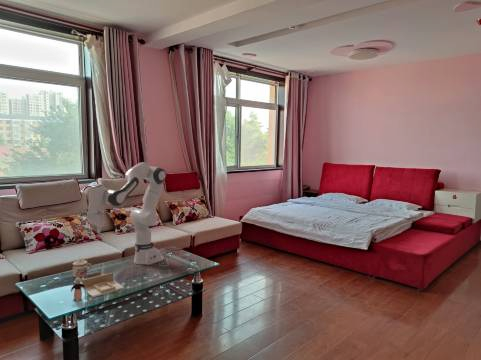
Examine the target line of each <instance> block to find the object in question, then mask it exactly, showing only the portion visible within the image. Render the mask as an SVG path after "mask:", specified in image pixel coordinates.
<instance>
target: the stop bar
mask: <svg viewBox="0 0 481 360" xmlns="http://www.w3.org/2000/svg"><path fill="white" fill-rule="evenodd" d="M101 274H102V272H101V271H100V270H94V271H88V272H87V273H85V276H84V277H85V278H84V279H87V278H91V277H95V276H99V275H101Z"/></svg>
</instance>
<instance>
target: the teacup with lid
mask: <svg viewBox="0 0 481 360" xmlns="http://www.w3.org/2000/svg"><path fill="white" fill-rule="evenodd" d="M88 266H89V267H90V268H89V269H88ZM92 268H93V265H92V263H88V261H87V260H84V259H82V258H78V260H76V261H74V262H73V263H72V277H74V278H78V277H79V278H83V277H85V273H88V272H91V270H92Z"/></svg>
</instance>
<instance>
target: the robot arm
mask: <svg viewBox="0 0 481 360" xmlns="http://www.w3.org/2000/svg"><path fill="white" fill-rule="evenodd" d="M166 177H167V173H166V171H165V169H164V168H162V167H158V166H155V165H154V166H151V165H150V166H149V164H148V163H146V162H144V161H142V162H139V163H137V164H136V165H133V166H132V167H131V168H129V169H128V170H127V171H126V172H125V175H124V179H125V182H126V183H125V184H124V185H123V186H122V188H120V189H116V190H114V189H110V188H108V187H105V186H104V185H103V184H94V185H91V186H90V187H89V190H88V203H89V204H88V207H86V208H85V212H86V221H87V223H89V225H90V231H95V227H97V228H96V233H97V234H100V233H101V230H102V228H104V227H105V226H106V220H105V218H106V217H105V214H104V205H106V204H107V205H110V206H114V207H119V206H122V205H123V204H124V203H125V201H126V199H127V198H128V196H129V195H130V194H131V193H133V192H134V190H135V189H136V188H137V186H138V185H139V183H140V182H142V180H144V181H145V180H146V181H148V182H149V184H148V185H147V188H146V190H145V192H144V195H143V198H142V203H143V204H142V205H143V206H142V208H135V209H132V211H131V212H130V213H129V218H130V220H131V222H132V224H133V227H134V232H135V244H134V251H135V253H134V260H133V263H134V264H136V265H153V264H155V263H159V262H162V261H165V257H164V256H162V254H161V251H160V250H159V249H158V248H156V245H157V243H155V242H153V241H152V231H151V230H150V228H149V227H153V226H155V224H156V223H157V222H158V216H157V205H158V203H159V200H160V198H161V195H162V193H163V192H162V191H163V189H164V188H163V187H164V182H165V180H166ZM154 246H155V247H154Z"/></svg>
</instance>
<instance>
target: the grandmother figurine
mask: <svg viewBox="0 0 481 360" xmlns="http://www.w3.org/2000/svg"><path fill="white" fill-rule="evenodd" d="M81 279H82V277H75V279H74V281H75V282H76V283H75V282H74V283H75V284H73V286H71V288H70V293H71V292H73V291H74V293H73V299H72V302H76V301H82V300H83V299H82V298H83V297H82V295H83V291H82V290H84V289H86V288H85V285H83V284H81V283H80V282H81ZM81 287H83V288H84V289H83V288H81Z"/></svg>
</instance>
